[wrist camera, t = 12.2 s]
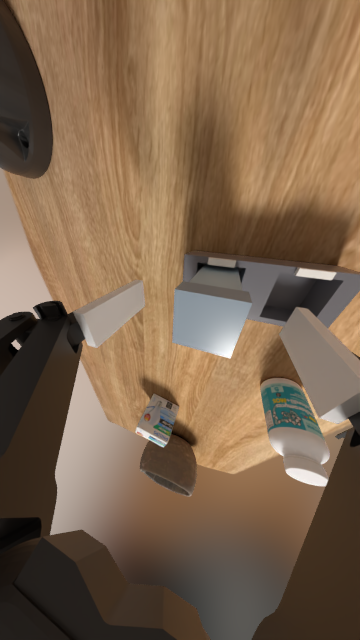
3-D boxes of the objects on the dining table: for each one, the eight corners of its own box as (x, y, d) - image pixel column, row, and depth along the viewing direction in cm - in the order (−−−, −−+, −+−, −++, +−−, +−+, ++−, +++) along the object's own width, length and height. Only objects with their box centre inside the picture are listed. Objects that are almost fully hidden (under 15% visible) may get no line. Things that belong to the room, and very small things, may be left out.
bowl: (189, 454, 72) (181, 497, 60) (149, 432, 74) (133, 470, 62) (209, 445, 58) (203, 501, 46) (159, 418, 60) (140, 465, 48)
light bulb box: (179, 406, 48) (168, 444, 39) (175, 412, 52) (163, 448, 43) (153, 392, 49) (136, 426, 40) (150, 400, 53) (134, 432, 44)
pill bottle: (307, 380, 26) (362, 485, 15) (293, 401, 30) (328, 496, 19) (264, 372, 28) (284, 458, 17) (255, 392, 32) (268, 472, 21)
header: (193, 250, 20) (183, 254, 16) (337, 265, 16) (377, 277, 12) (189, 293, 24) (179, 307, 20) (304, 314, 20) (325, 337, 16)
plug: (204, 260, 20) (174, 289, 9) (240, 264, 19) (252, 303, 8) (199, 292, 22) (172, 342, 12) (230, 297, 21) (230, 358, 11)
